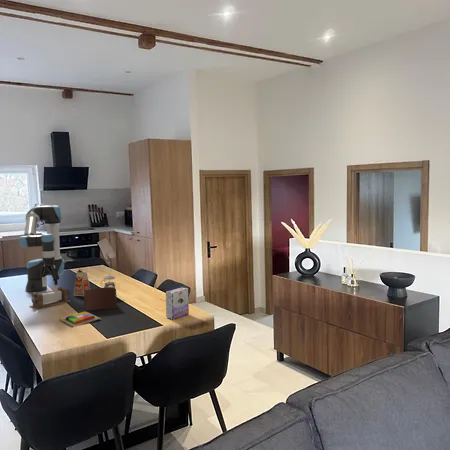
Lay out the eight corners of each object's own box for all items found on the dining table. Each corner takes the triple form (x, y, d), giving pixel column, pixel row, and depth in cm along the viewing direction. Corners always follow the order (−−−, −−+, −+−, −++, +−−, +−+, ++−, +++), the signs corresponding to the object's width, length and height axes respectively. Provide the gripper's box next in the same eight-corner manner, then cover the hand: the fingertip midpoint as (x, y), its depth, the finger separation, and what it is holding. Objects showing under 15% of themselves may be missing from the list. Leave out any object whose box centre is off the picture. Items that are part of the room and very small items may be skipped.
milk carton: (84, 296, 309) (83, 268, 307) (73, 295, 310) (71, 268, 309) (91, 293, 317) (90, 266, 316) (79, 292, 319) (78, 266, 317)
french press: (113, 298, 301) (112, 263, 299) (98, 297, 304) (96, 263, 301) (119, 295, 311) (118, 261, 309) (104, 294, 313) (103, 260, 311)
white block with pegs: (31, 304, 280) (30, 295, 279) (64, 296, 299) (64, 288, 298) (34, 305, 277) (34, 296, 276) (68, 297, 296) (68, 289, 295)
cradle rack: (29, 306, 282) (29, 293, 281) (63, 299, 301) (62, 286, 300) (37, 309, 276) (36, 295, 275) (70, 301, 295) (70, 288, 294)
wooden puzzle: (58, 321, 253) (58, 315, 253) (88, 314, 266) (88, 309, 266) (71, 328, 240) (71, 322, 240) (102, 320, 253) (102, 315, 253)
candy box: (182, 312, 266) (181, 286, 265) (189, 314, 262) (188, 288, 261) (165, 318, 256) (165, 291, 254) (172, 320, 252) (172, 292, 250)
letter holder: (116, 308, 278) (116, 286, 277) (84, 311, 272) (83, 289, 271) (115, 304, 288) (114, 283, 287) (84, 307, 281) (83, 286, 280)
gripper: (33, 255, 290) (35, 286, 293) (53, 260, 275) (54, 292, 277) (44, 254, 296) (45, 284, 298) (64, 258, 281) (65, 289, 283)
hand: (50, 288), depth 288 cm, fingers open, 13 cm apart
